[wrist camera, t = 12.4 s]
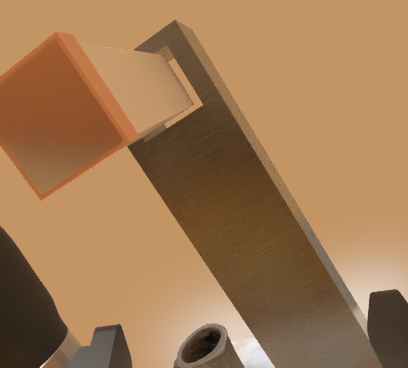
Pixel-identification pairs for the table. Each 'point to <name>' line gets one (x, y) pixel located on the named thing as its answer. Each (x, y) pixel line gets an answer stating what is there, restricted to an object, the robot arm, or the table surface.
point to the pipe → (208, 349)
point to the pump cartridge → (81, 107)
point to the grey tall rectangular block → (249, 223)
